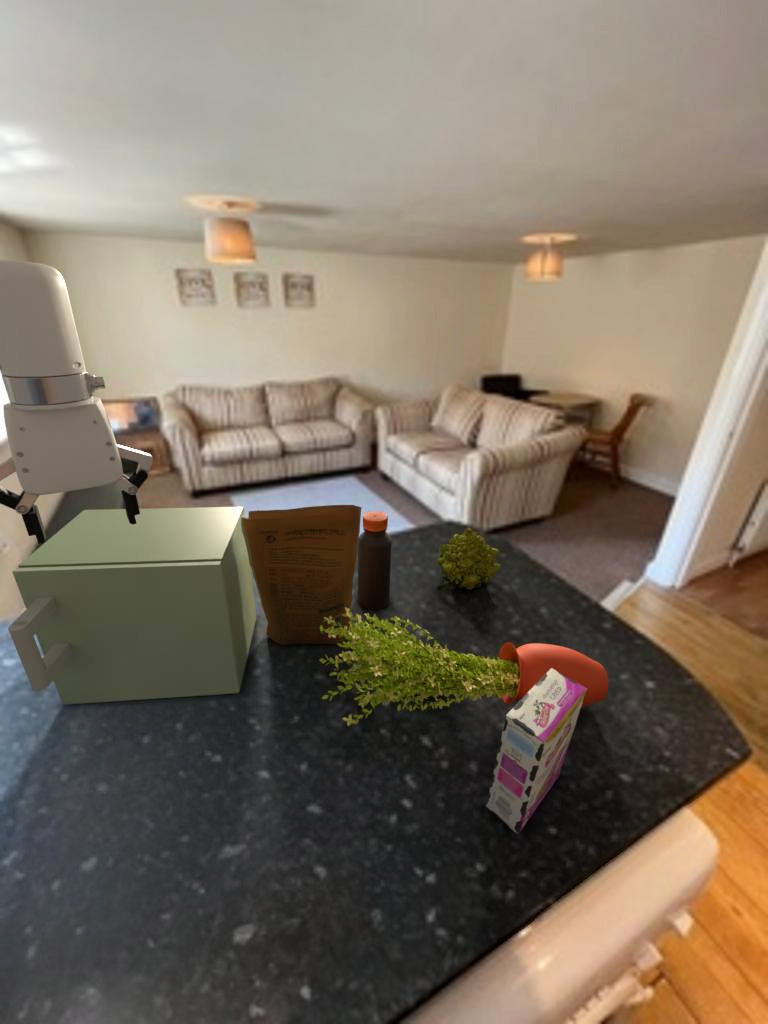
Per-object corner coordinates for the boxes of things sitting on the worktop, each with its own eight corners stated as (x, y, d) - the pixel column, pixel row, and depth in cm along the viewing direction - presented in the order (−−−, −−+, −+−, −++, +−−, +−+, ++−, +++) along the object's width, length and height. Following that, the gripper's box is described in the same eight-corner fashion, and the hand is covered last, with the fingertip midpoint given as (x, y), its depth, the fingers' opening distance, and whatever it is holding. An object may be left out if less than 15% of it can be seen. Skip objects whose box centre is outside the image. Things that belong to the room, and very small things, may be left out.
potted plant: (552, 672, 86) (317, 649, 81) (576, 611, 80) (325, 582, 75) (601, 764, 68) (304, 741, 63) (637, 694, 62) (314, 664, 58)
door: (230, 730, 65) (207, 594, 55) (35, 745, 62) (-27, 603, 52) (240, 688, 73) (221, 560, 62) (65, 699, 70) (16, 567, 60)
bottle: (366, 614, 91) (368, 526, 83) (352, 596, 96) (351, 512, 88) (395, 604, 94) (399, 519, 86) (379, 588, 100) (381, 506, 91)
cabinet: (240, 687, 73) (221, 558, 63) (66, 699, 70) (17, 565, 60) (256, 618, 89) (243, 506, 79) (116, 624, 86) (84, 509, 76)
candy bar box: (519, 838, 53) (544, 744, 46) (484, 807, 56) (502, 715, 50) (562, 777, 60) (589, 687, 54) (528, 752, 64) (550, 664, 57)
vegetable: (433, 590, 93) (449, 520, 94) (424, 587, 108) (438, 527, 110) (502, 607, 92) (517, 537, 94) (484, 602, 108) (497, 541, 110)
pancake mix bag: (360, 650, 82) (361, 511, 70) (254, 652, 80) (237, 511, 69) (360, 626, 88) (361, 494, 76) (262, 627, 87) (247, 494, 75)
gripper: (133, 380, 56) (158, 504, 63) (-50, 390, 47) (3, 534, 54) (143, 389, 51) (169, 524, 58) (-62, 403, 42) (-1, 561, 49)
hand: (89, 529), depth 56 cm, fingers open, 9 cm apart
